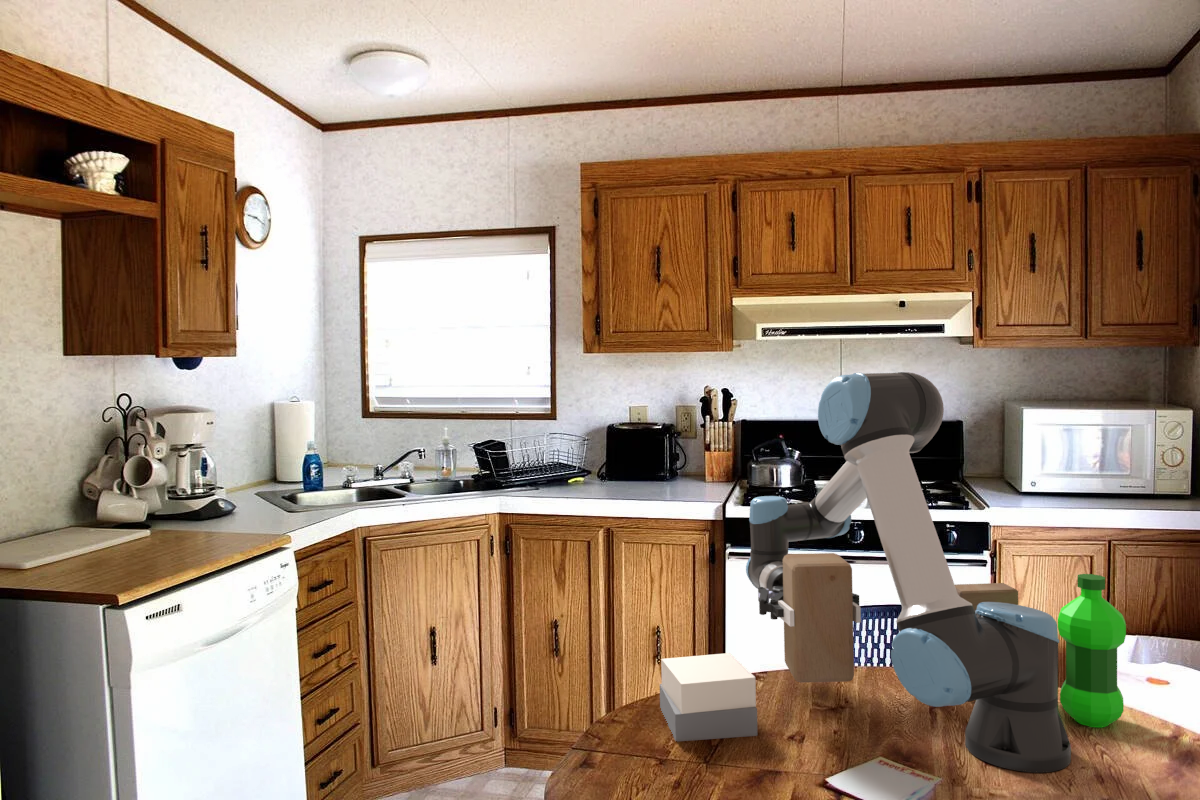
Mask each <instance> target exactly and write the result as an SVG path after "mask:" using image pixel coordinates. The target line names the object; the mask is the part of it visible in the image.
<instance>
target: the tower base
mask: <svg viewBox="0 0 1200 800" xmlns="http://www.w3.org/2000/svg"><path fill="white" fill-rule="evenodd" d="M660 708H661V710H660V711H662V712H661V714H662V713H663V714H662V715H664V716H663V718H664V717H665V718H664V720H665V719H666V720H665V722H666V721H667V722H666V724H667V723H668V724H667V727H668V729H669V730H671V731H670V732H672V733H671V735H672V734H673V735H672V737H673V739H674V742H676V741H677V742H685V741H686V742H687V741H688V742H689V741H690V742H691V741H700V740H701V741H702V740H713V739H715V740H716V739H730V738H740V737H741V738H742V737H743V738H744V737H757V736H758V708H757V706H756V707H747V708H737V709H726V710H716V711H706V712H696V713H686V714H681V712H680V711H679V709H678V708H677V707H676V705H675V704H674V702H673V701H672V700H671V698H670V697H669V695H668V694H667V693H666V691H665V690H664V688H663V687H662V683H659V709H660Z"/></svg>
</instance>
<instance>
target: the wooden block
mask: <svg viewBox="0 0 1200 800" xmlns="http://www.w3.org/2000/svg"><path fill="white" fill-rule="evenodd" d="M852 593H853V568H852V566H851V564H850V563H849V562H847V561H846V560H845V559H844V558H842V556H840V555H839V554H837V553H834V552H825V553H788V554H787V555H785V556H784V558H783V601H784V602H785V603H786V604H787V605H788V606H790V607H791V608H792V609H793V610H794V626H792V627H790V626H789V625H788V624H787V623H786V622H784V621H783V641H784V644H783V647H784V650H783V651H784V663H785V666H786V667H787V668H788V670H789V672H790V674H791V675H792V677H793V679H794V680H795V681H796V682H798V683H842V682H843V683H845V682H847V683H848V682H851V681H853V679H854V676H855V662H854V659H855V658H854V621H853V597H852Z"/></svg>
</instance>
